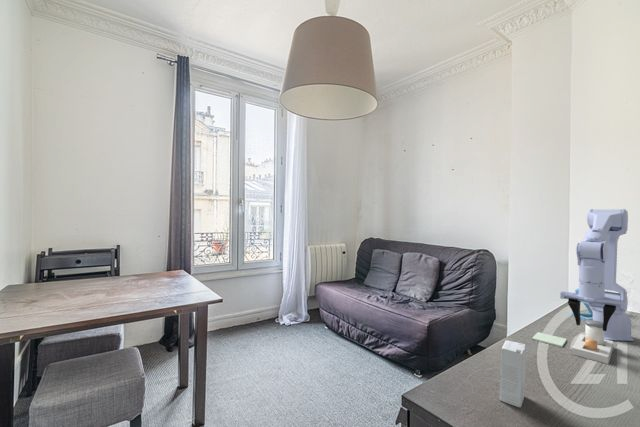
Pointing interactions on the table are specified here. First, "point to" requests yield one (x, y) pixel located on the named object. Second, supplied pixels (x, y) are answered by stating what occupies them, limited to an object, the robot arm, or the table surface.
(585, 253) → the robot arm
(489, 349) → the table surface
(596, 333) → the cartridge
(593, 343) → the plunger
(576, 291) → the chair
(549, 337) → the mat
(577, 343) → the housing
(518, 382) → the skincare box
